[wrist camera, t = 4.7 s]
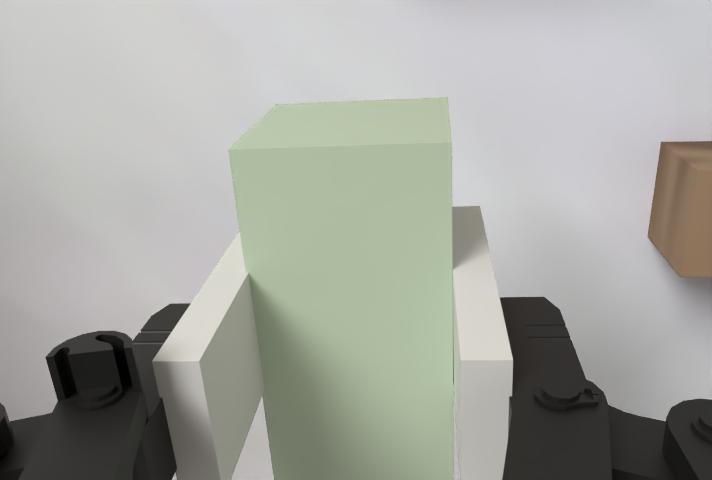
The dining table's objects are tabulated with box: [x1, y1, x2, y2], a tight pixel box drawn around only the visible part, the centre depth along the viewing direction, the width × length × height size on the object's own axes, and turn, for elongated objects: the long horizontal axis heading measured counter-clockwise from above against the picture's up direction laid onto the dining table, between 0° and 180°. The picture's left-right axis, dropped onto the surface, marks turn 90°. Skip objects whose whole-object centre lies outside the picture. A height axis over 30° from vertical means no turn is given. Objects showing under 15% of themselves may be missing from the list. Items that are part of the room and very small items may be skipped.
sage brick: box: [229, 97, 454, 480], centre depth 15 cm, size 8×4×4 cm, turn 3°
